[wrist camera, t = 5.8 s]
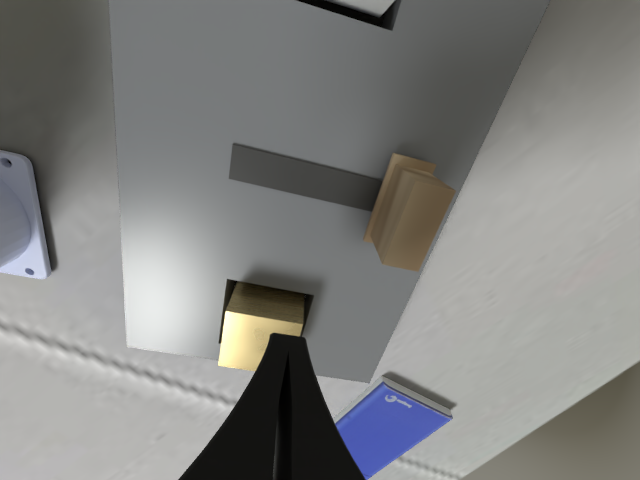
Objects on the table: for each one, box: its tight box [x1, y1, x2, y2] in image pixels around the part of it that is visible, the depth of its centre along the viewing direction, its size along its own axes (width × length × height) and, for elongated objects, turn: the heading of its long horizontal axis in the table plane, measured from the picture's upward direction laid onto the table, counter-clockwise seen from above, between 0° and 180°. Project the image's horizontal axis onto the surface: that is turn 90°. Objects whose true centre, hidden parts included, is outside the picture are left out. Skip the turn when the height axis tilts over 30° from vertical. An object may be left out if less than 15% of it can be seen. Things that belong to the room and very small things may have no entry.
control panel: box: [109, 0, 550, 383], centre depth 15 cm, size 16×26×3 cm, turn 166°
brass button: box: [218, 281, 304, 371], centre depth 17 cm, size 4×4×3 cm
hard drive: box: [333, 376, 453, 480], centre depth 28 cm, size 2×8×12 cm
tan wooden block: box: [363, 153, 456, 272], centre depth 13 cm, size 2×4×3 cm, turn 166°
